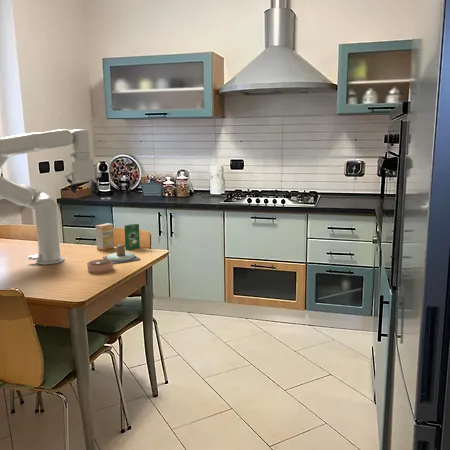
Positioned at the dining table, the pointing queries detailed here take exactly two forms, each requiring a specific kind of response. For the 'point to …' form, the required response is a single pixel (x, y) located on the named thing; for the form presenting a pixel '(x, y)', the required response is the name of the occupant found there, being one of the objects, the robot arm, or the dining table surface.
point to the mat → (124, 261)
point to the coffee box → (132, 236)
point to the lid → (121, 254)
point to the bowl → (100, 266)
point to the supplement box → (104, 236)
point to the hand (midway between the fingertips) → (84, 191)
